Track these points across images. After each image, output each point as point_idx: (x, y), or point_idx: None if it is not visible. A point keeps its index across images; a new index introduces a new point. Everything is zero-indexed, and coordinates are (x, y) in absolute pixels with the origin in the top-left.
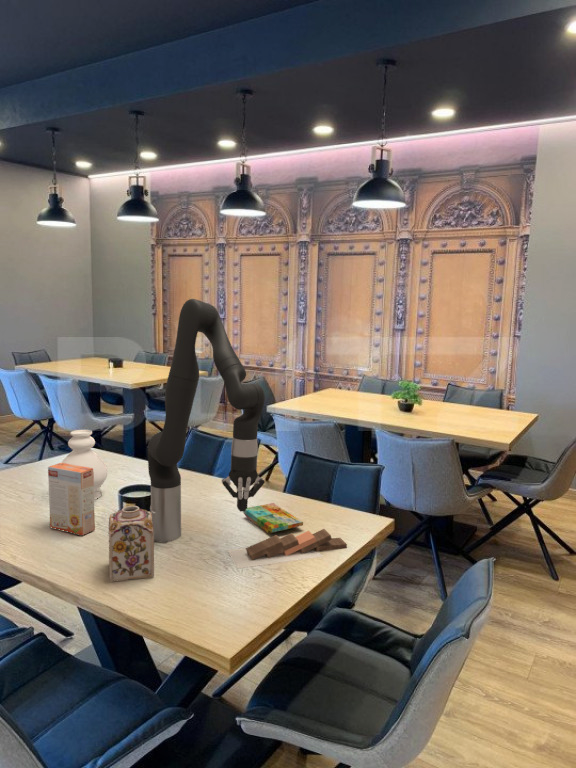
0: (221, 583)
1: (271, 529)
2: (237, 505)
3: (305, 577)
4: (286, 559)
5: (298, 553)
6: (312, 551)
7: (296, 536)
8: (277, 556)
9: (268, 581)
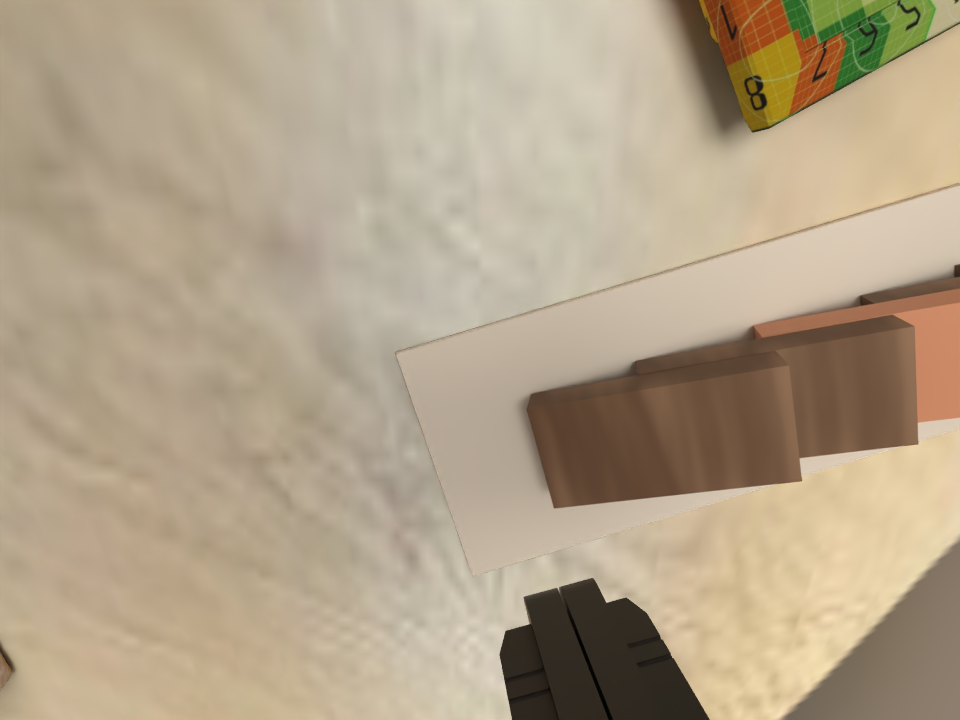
0: (398, 695)
1: (760, 118)
2: (512, 686)
3: (805, 621)
4: None
5: None
6: None
7: (923, 311)
8: None
9: None
